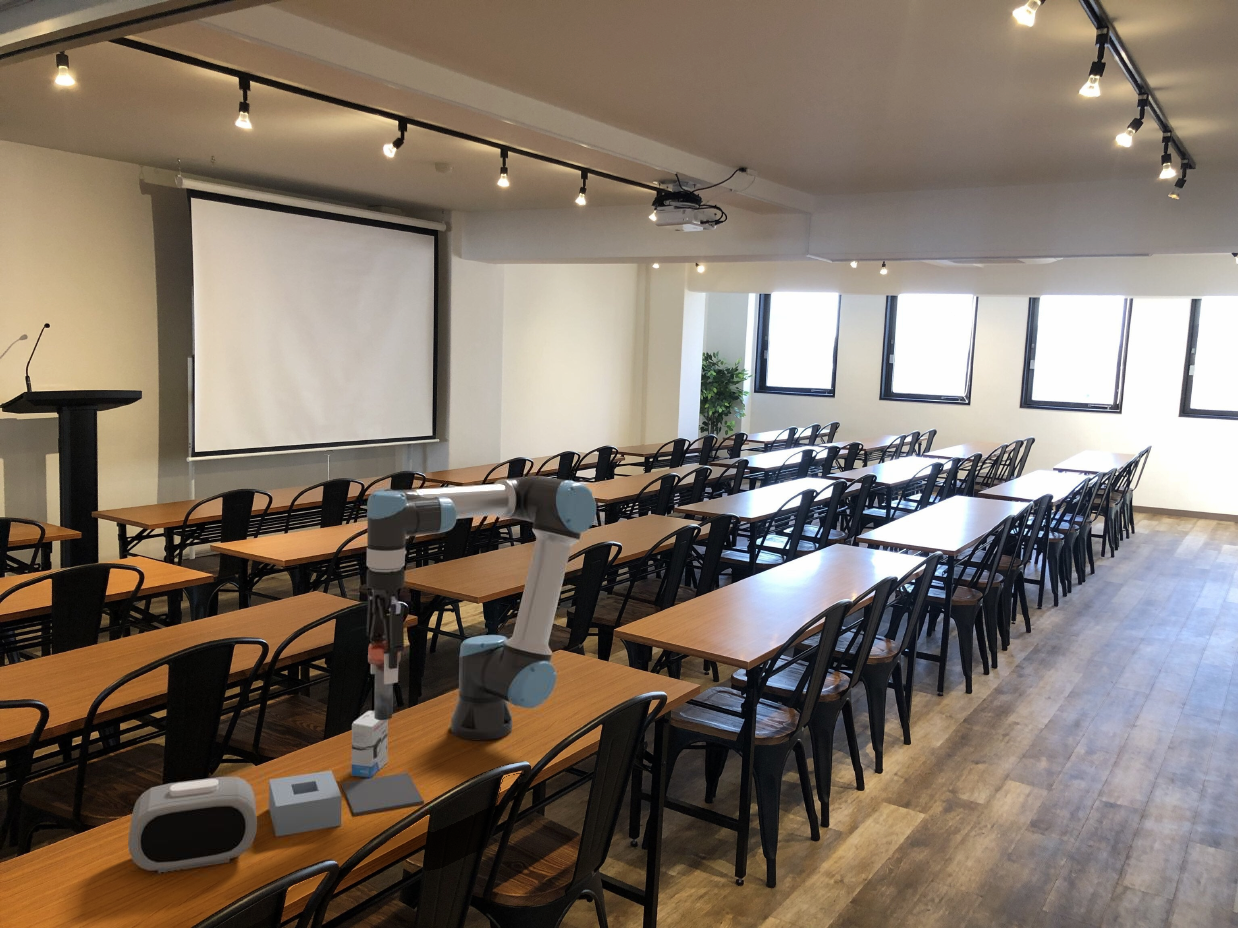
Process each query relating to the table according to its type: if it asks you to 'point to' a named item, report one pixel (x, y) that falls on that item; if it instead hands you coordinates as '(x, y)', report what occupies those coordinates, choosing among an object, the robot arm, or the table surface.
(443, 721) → the table surface
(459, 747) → the table surface
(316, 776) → the eye block
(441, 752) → the table surface
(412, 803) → the mat
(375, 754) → the ink box
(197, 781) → the alarm clock
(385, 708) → the red-capped vial
